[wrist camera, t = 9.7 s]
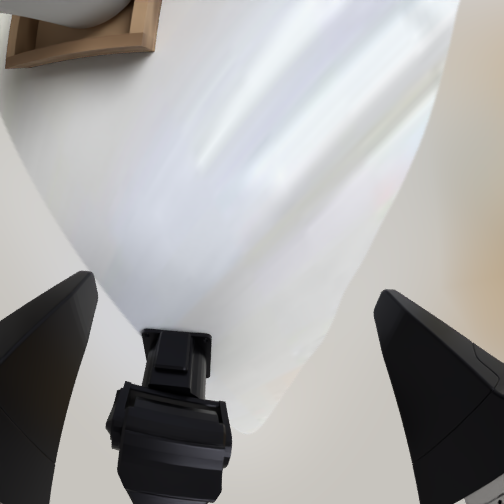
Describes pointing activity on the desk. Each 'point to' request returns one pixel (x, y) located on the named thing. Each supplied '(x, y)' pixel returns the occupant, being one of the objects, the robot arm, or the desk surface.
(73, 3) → the beverage can
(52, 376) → the robot arm
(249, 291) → the desk surface
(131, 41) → the tray
